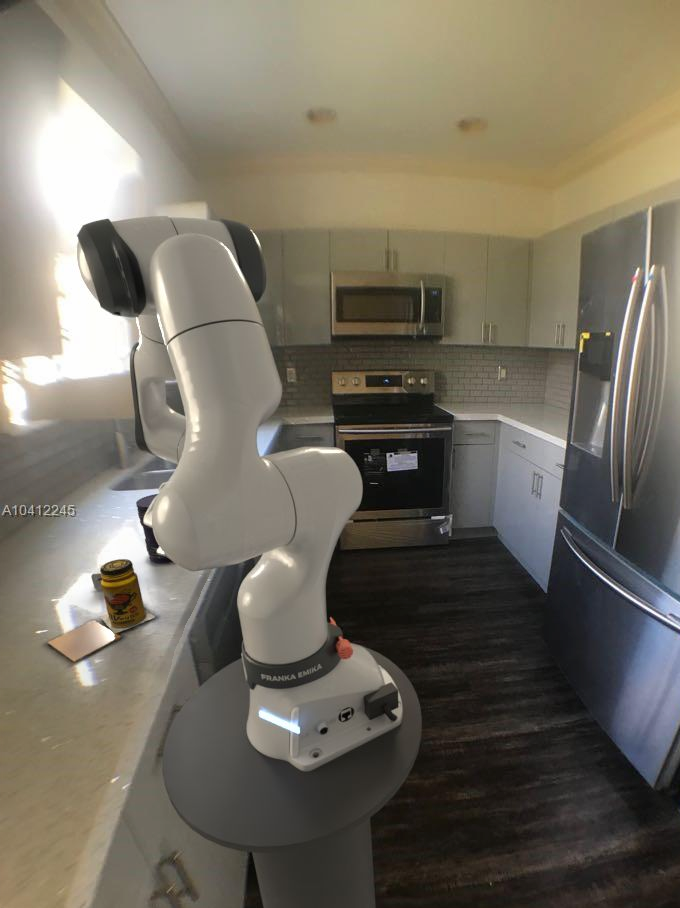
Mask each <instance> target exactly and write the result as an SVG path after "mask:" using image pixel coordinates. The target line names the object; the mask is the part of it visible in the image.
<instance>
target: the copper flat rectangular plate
mask: <svg viewBox="0 0 680 908" xmlns="http://www.w3.org/2000/svg"><path fill="white" fill-rule="evenodd" d="M121 638H122V636H121V635H119V634H118V633H114V632H113V631H112V630H111V629H110V628H109V627H106V626H105V625H103V624H101V623H100V622H97V621H96V620H94V619H92V620H91V621H88V622H86V623H84V624H83V625H82V624H81V625H80V626H77V627H76V628H74V629H72V630H70V631H68V632H66V633H64V634H62V635H59V636H58V637H55V638H53V639H51V640H49V641H47V644H48V645H50V646H51V647H52V648H54V649H55V650H56V651H57V652H59V653H61V654H62V655H63V656H65V657H66V658H67V659H69V660H70V661H72V663H77V662H79V661H80V660H82V659H84V658H86V657H88V656H90V655H92V654H93V653H95V652H98V651H99V650H101V649H103V648H105V647H107V646H108V645H110V644H112V643H114V642H116V641H118V640H120V639H121Z"/></svg>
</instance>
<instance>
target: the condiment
mask: <svg viewBox="0 0 680 908" xmlns="http://www.w3.org/2000/svg"><path fill="white" fill-rule="evenodd" d="M102 565H103V566H102V567H101V568H100V572H101V577H102V581H101V586H102V590H101V591H102V594H103V598H104V602H105V606H106V612H107V613H105V614H103V615H100V616H99V617H100V618H101V620H102V621H103V622H104V623H105V624H106V626H107V628H108V629H109V630H111V631H113V632H114V633H116V634H118V633H121V632H123V631H126V630H129V629H131V628H133V627H136V626H139V625H141V624H144V623H146V622H148V621H150V620H153V619H155V618H156V616H154V615H153V614H152V613H151V612H150V611H149V610H148V609H147V607H145V606H144V600H143V596H142V592H141V587H140V582H139V578H138V575H137V572H135V569H134V565H133V562H132V561H131V560H130V559H127V558H118V559H114V560H111V561H108V562H105V563H104V564H102Z"/></svg>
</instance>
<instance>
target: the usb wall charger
mask: <svg viewBox="0 0 680 908" xmlns="http://www.w3.org/2000/svg"><path fill="white" fill-rule="evenodd" d="M103 565H104V564H100V565H99V566H98V567H97V568H96V570H94V572H92V574H91V576H90V578H91V581H92V584H93V587H94V589H95V590H97V591H102V586H101V581H102V577H101V572H100V568H101V567H102V566H103Z"/></svg>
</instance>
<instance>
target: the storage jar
mask: <svg viewBox="0 0 680 908" xmlns="http://www.w3.org/2000/svg"><path fill="white" fill-rule="evenodd" d="M158 494H159V493H155V494H150V495H147V496H143V497H141V498H140V499H137V501H136V502H135V506H136V508H137V509H136V510H137V515H138V519H139V523H140V525H141V527H142V530H143V535H144V537H145V538H144V543H145V548H146V552H147V555H148V556H149V557H148V558H149V562H151V563H152V564H155V565H169V564H173V563H174V562H173V561H172V560H170V559H169V558H167V557H165V556H162V555H160V554H158V553H157V552H156V551H157V549H158V547H159V545H158V543H157V541H156V538H155V536H154V532H153V528H151V527H149V526H147V525H145V524H144V523H143V519H144V515H145V513H146V511H147V510H148V508H149V506H150V504H151V503H152V501H153V499H154V498H155V497H156V496H157V495H158ZM174 564H175V563H174Z"/></svg>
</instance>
